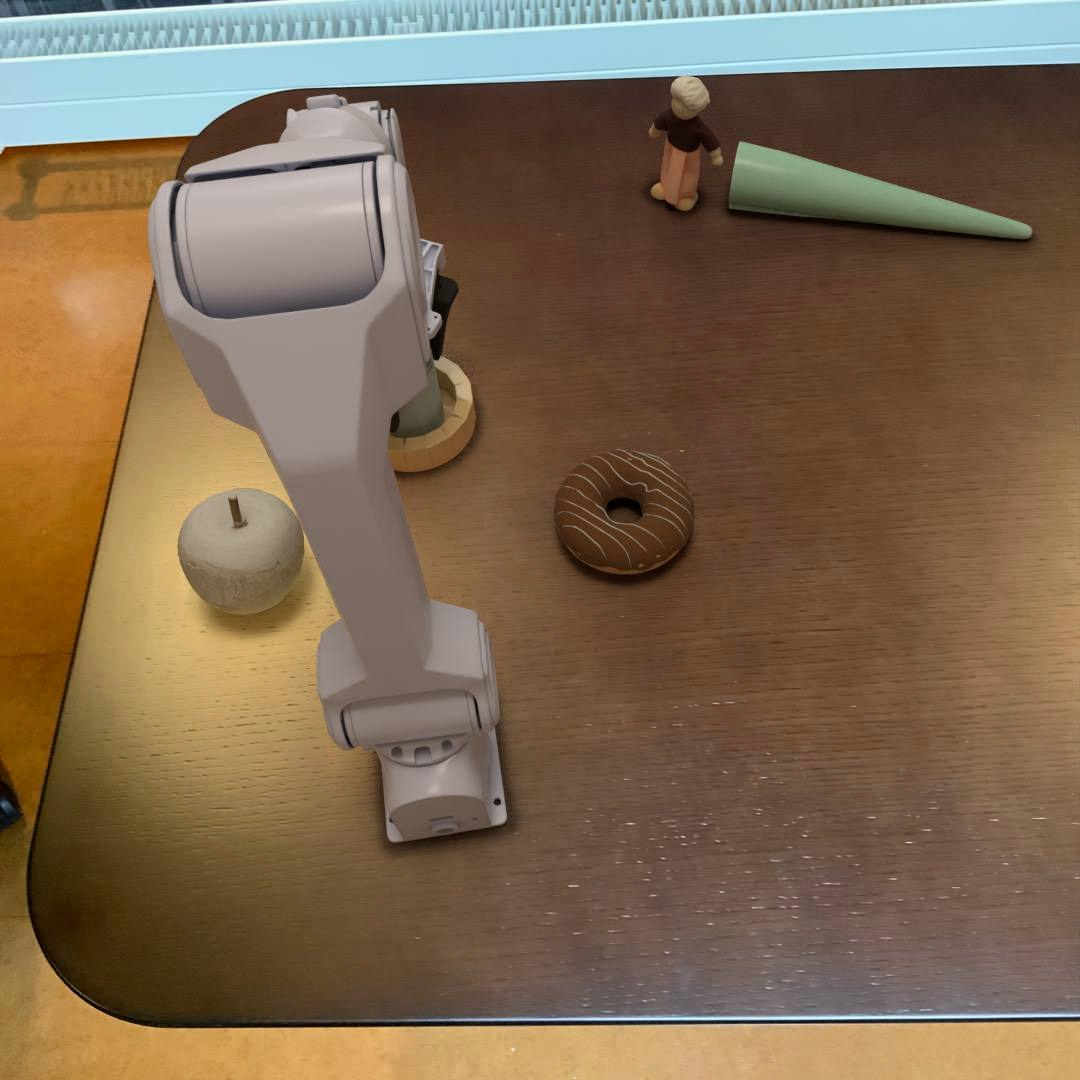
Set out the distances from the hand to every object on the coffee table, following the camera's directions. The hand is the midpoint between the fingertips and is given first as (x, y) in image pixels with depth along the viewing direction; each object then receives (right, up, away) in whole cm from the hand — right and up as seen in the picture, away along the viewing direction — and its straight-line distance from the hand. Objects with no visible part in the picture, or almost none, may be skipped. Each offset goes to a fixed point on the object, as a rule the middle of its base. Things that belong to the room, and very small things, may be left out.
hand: (407, 389), depth 83 cm
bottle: (0, -2, +3) cm, 4 cm away
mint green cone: (+41, +18, +13) cm, 47 cm away
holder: (0, -2, +4) cm, 4 cm away
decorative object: (-11, -15, -3) cm, 19 cm away
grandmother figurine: (+24, +20, +15) cm, 35 cm away
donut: (+17, -11, -2) cm, 20 cm away
